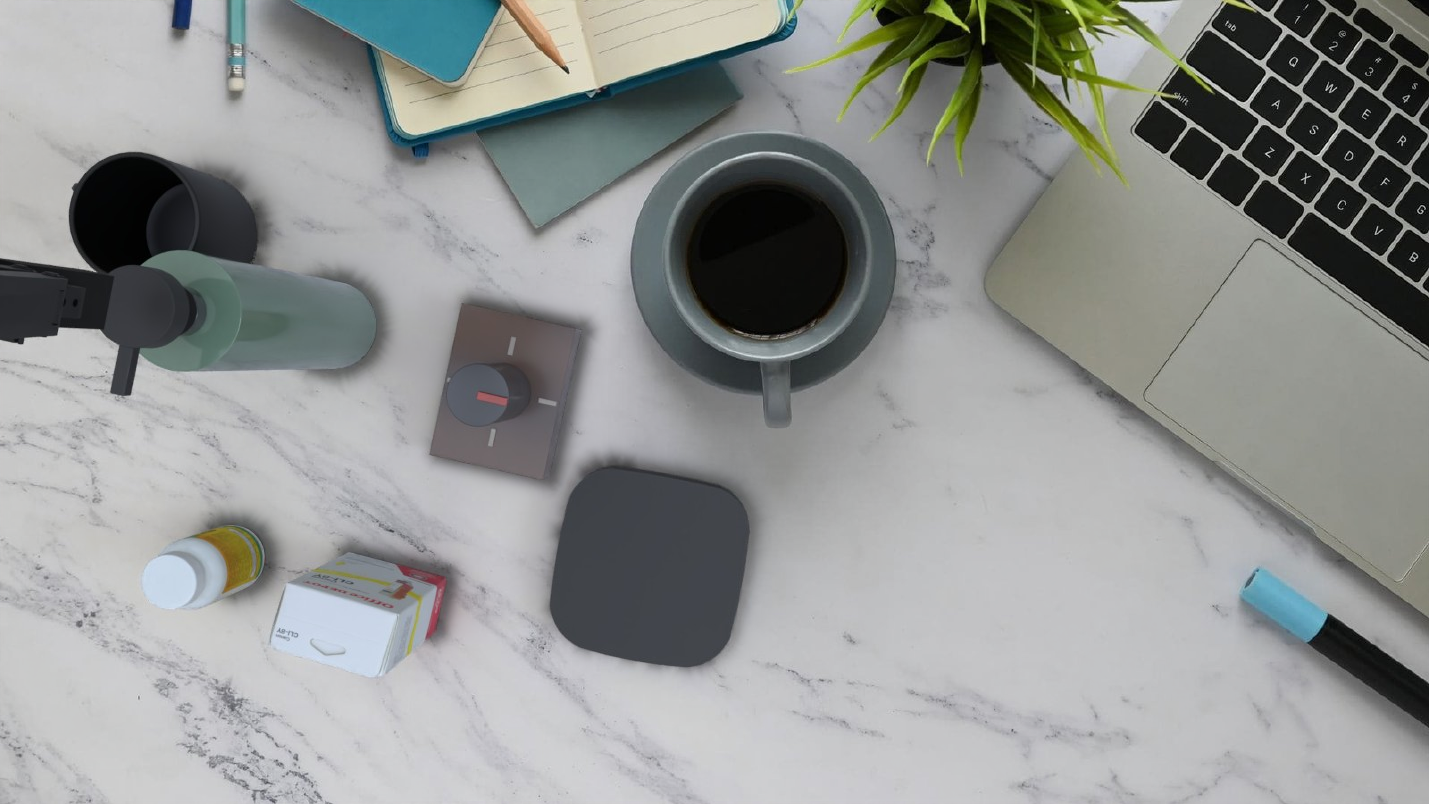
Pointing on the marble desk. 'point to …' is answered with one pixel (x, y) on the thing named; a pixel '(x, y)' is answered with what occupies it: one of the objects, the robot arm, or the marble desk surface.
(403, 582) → the ink box
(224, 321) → the lotion bottle
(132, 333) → the pump head
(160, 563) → the supplement bottle
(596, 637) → the media streaming box
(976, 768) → the marble desk surface
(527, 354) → the dial panel
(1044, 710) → the marble desk surface
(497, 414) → the dial
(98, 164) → the mug
